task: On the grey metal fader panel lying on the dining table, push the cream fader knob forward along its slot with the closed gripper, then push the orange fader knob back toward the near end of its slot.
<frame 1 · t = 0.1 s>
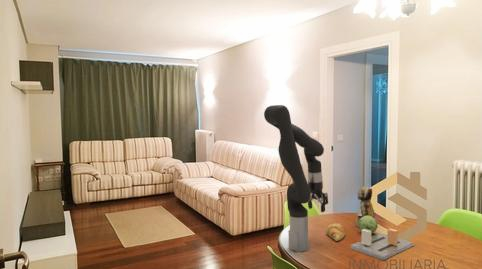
hand: (316, 210, 180), 17 cm above the table, tool pointing down, fingers open, 8 cm apart
croissant: (335, 236, 190), on the table
decorative ball: (368, 233, 191), on the table
fader panel: (381, 247, 171), on the table
cream fader: (366, 237, 170), point 6 cm above the table, slide at 0.0 cm
plush toy: (365, 226, 202), on the table
orange fader: (392, 236, 169), point 6 cm above the table, slide at 10.0 cm
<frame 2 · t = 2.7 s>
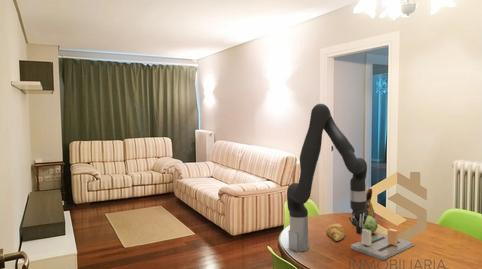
hand: (359, 233, 167), 9 cm above the table, tool pointing down, fingers closed
nothing on the table moved.
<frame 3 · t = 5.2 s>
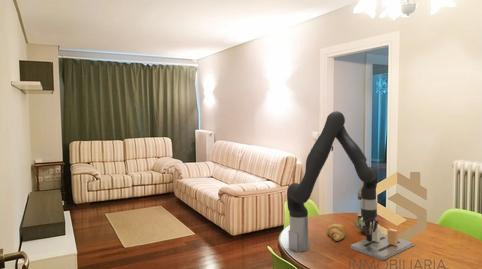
hand: (369, 240, 171), 3 cm above the table, tool pointing down, fingers closed
cream fader: (375, 233, 174), point 6 cm above the table, slide at 7.4 cm, touching hand
everything else where it was.
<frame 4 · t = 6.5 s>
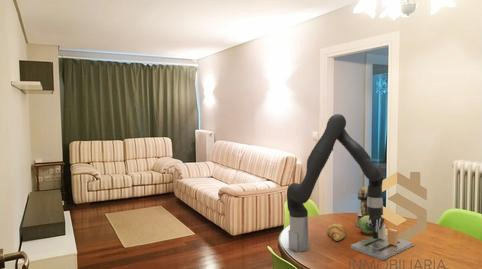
hand: (375, 238, 174), 3 cm above the table, tool pointing down, fingers closed
cream fader: (381, 231, 177), point 6 cm above the table, slide at 12.7 cm, touching hand
everything else where it was.
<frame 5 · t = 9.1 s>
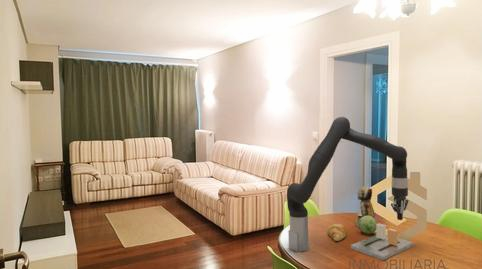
hand: (400, 219, 173), 13 cm above the table, tool pointing down, fingers closed
cream fader: (381, 231, 177), point 6 cm above the table, slide at 12.8 cm
everything else where it was.
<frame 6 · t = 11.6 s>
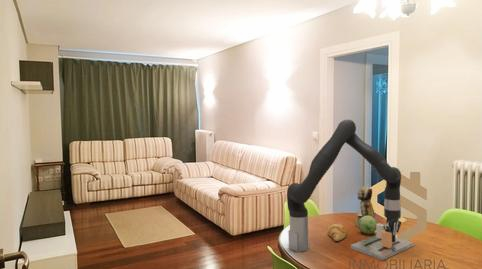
hand: (392, 241, 169), 3 cm above the table, tool pointing down, fingers closed
orange fader: (386, 239, 166), point 6 cm above the table, slide at 4.8 cm, touching hand
everything else where it was.
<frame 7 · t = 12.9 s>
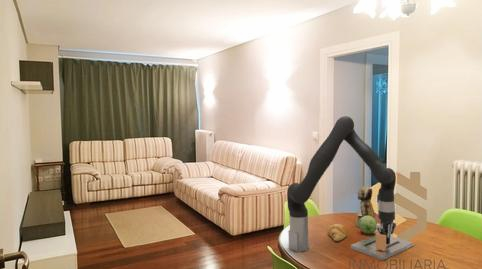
hand: (387, 243, 166), 3 cm above the table, tool pointing down, fingers closed
orange fader: (380, 241, 163), point 6 cm above the table, slide at -0.1 cm, touching hand
everything else where it was.
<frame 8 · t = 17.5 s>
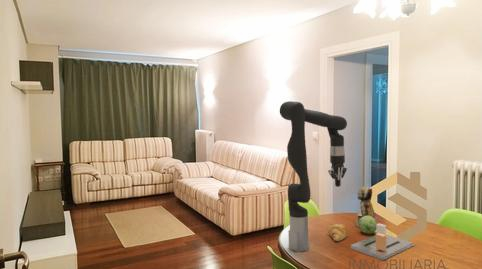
hand: (337, 186, 182), 29 cm above the table, tool pointing down, fingers closed
orange fader: (380, 241, 163), point 6 cm above the table, slide at 0.0 cm
at the end: cream fader slide at 12.8 cm; orange fader slide at 0.0 cm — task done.
